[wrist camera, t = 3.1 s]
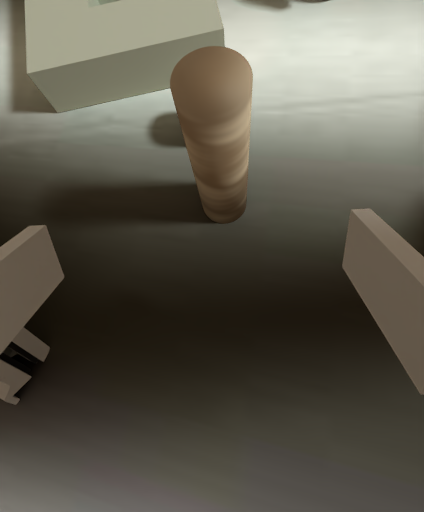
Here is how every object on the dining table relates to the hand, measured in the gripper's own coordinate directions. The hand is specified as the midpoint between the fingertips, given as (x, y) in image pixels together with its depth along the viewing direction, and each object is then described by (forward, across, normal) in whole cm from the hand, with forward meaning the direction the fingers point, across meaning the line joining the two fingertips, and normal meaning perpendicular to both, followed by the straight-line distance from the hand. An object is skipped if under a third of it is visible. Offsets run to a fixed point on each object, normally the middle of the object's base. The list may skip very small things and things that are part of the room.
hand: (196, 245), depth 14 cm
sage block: (+30, -9, +12) cm, 34 cm away
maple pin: (+15, +1, -4) cm, 16 cm away
